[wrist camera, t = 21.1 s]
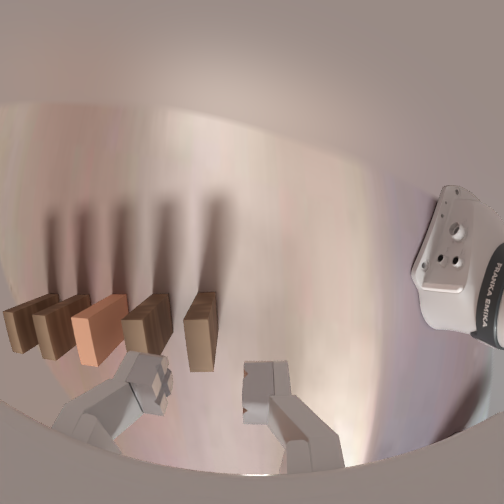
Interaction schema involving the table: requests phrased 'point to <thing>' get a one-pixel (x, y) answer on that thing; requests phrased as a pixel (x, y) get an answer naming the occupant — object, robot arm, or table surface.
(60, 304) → the domino
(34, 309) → the domino
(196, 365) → the domino
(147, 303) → the domino
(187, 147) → the table surface
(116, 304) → the domino
